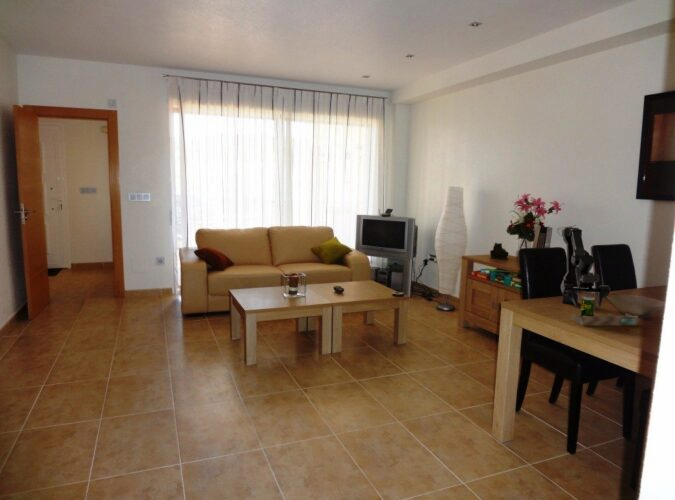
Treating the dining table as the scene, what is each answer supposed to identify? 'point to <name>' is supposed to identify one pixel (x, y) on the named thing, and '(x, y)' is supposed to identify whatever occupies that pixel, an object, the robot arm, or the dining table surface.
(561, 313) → the dining table surface
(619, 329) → the dining table surface
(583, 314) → the beer can
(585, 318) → the can rack
